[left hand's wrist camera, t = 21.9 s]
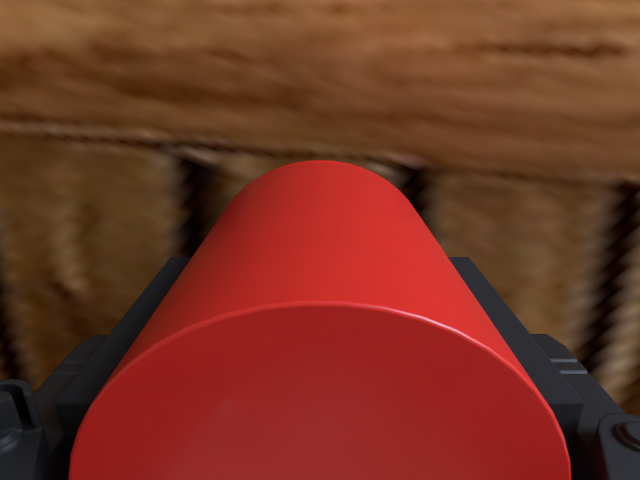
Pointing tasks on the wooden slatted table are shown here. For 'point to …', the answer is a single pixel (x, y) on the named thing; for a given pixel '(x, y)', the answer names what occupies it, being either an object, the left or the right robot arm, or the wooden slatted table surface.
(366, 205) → the cylinder
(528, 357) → the left robot arm
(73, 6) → the wooden slatted table surface
